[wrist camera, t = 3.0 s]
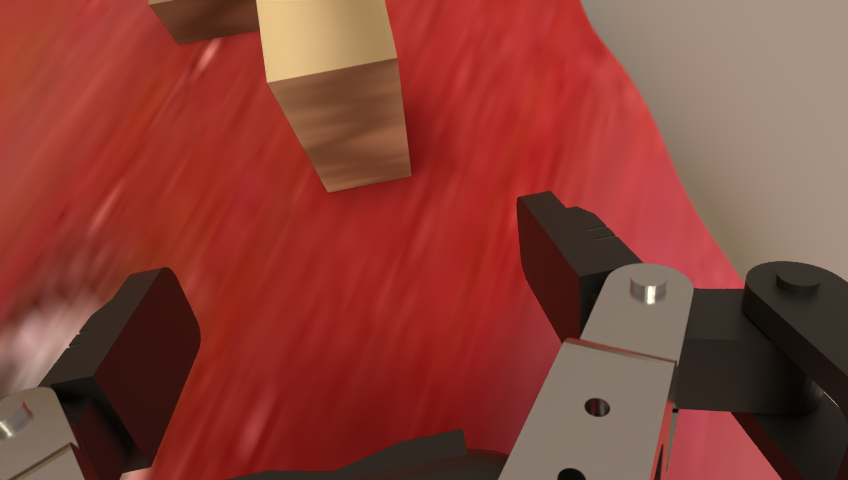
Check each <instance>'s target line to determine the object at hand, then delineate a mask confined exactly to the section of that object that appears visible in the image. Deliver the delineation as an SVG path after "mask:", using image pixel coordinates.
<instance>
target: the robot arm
mask: <svg viewBox="0 0 848 480" xmlns="http://www.w3.org/2000/svg"><path fill="white" fill-rule="evenodd" d="M517 219H518V231H519V243H520V255H521V262H522V267H523V271H524V274H525V277H526V280H527V282H528V284H529V285H530V287H531V289H532V291H533V293H534V294H535V296H536V298H537V300H538V301H539V303H540V305H541V307H542V309H543V310H544V312H545V314H546V316H547V318H548V319H549V321H550V323H551V325H552V326H553V328H554V330H555V332H556V334H557V335H558V337H559V339H560V341H561V342H562V346H561V348H560V350H559V353H558V355H557V357H556V359H555V361H554V363H553V365H552V367H551V369H550V372H549V374H548V376H547V378H546V380H545V382H544V384H543V386H542V388H541V390H540V393H539V395H538V397H537V399H536V401H535V403H534V405H533V407H532V409H531V412H530V414H529V416H528V418H527V420H526V422H525V424H524V426H523V428H522V430H521V433H520V435H519V437H518V439H517V441H516V443H515V445H514V447H513V449H512V451H511V454H510V455H508V454H504V453H500V452H496V451H489V450H482V449H467V447H466V443H465V439H464V435H463V431H462V429H459V430H454V431H450V432H445V433H440V434H436V435H431V436H426V437H422V438H417V439H413V440H408V441H403V442H399V443H397V444H395V445H392V446H390V447H388V448H386V449H383V450H381V451H379V452H377V453H374V454H372V455H370V456H368V457H365V458H363V459H361V460H359V461H356V462H354V463H352V464H350V465H347V466H345V467H343V468H341V469H338V470H335V471H272V470H268V471H264V472H259V473H254V474H250V475H245V476H240V477H236V478H231V479H226V480H667V478H668V472H669V467H670V462H671V456H672V451H673V446H674V440H675V435H676V430H677V424H678V419H679V414H680V409H693V410H711V411H728V412H731V413H732V415H733V416H734V417H735V419H736V420H737V421H738V422H739V424H740V425H741V426H742V428H743V429H744V430H745V432H746V433H747V434H748V436H749V437H750V438H751V439H752V441H753V442H754V443H755V445H756V446H757V447H758V449H759V450H760V451H761V453H762V454H763V455H764V456H765V458H766V459H767V460H768V462H769V463H770V464H771V466H772V467H773V468H774V470H775V471H776V472H777V473H778V475H779V476H780V477H781V479H782V480H848V282H846V281H845V280H843V279H842V278H841V277H839V276H837V275H836V274H834V273H832V272H830V271H828V270H825V269H823V268H820V267H817V266H813V265H809V264H804V263H799V262H788V261H776V262H768V263H764V264H760V265H758V266H755V267H754V268H752V269H751V270H750V271H749V272H748V273H747V275H746V281H745V287H744V289H698V288H693V285H692V283H691V281H690V280H689V279H688V278H687V277H686V276H685V275H684V274H682V273H681V272H679V271H677V270H675V269H672V268H670V267H666V266H663V265H657V264H649V263H643V262H642V261H641V260H640V259H639V258H638V257H637V256H636V255H635V254H634V253H633V252H632V251H631V250H630V249H629V248H628V247H627V246H626V245H625V244H624V243H623V242H622V241H621V240H620V239H619V238H618V237H615V234H614V233H613V232H612V231H611V230H610V229H609V228H606V225H605V224H604V223H603V222H602V221H601V220H600V219H599V218H598V217H597V216H596V215H595V214H593V213H591V212H589V211H586V210H584V209H582V208H579V207H577V206H576V207H571V208H567V209H566V207H565V206H564V205H563V204H562V203H561V202H560V201H559V200H558V199H557V197H556V196H555V195H554V194H553V193H552V192H551V191H546V192H541V193H536V194H531V195H526V196H521V197H518V198H517ZM79 333H80V334H79V335H76V336H75V338H74V339H73V340H72V342H71V343H70V344H69V348H67V349H66V350H65V351H64V352H63V354H62V355H61V356H60V358H59V359H58V360H57V362H56V363H55V364H54V365H53V367H52V368H51V369H50V371H49V372H48V373H47V375H46V376H45V377H44V379H43V380H42V381H41V383H40V384H39V385H38V387H36V388H31V389H26V390H23V391H20V392H18V393H15V394H13V395H10V396H8V397H6V398H4V399H2V400H0V480H120V477H121V475H122V473H126V472H130V471H135V470H140V469H144V468H149V467H151V466H152V463H153V461H154V458H155V456H156V454H157V451H158V449H159V446H160V444H161V441H162V439H163V436H164V434H165V431H166V429H167V426H168V424H169V422H170V419H171V417H172V414H173V412H174V409H175V407H176V404H177V402H178V399H179V397H180V395H181V392H182V390H183V387H184V385H185V382H186V380H187V377H188V375H189V372H190V370H191V368H192V365H193V363H194V360H195V358H196V355H197V353H198V350H199V347H200V341H201V337H200V329H199V325H198V322H197V320H196V318H195V315H194V313H193V311H192V309H191V307H190V305H189V303H188V301H187V299H186V296H185V294H184V292H183V290H182V288H181V286H180V284H179V282H178V279H177V277H176V275H175V274H174V272H173V271H172V270H171V269H170V268H167V267H164V268H159V269H154V270H149V271H144V272H139V273H134V274H131V275H130V276H129V277H128V278H127V280H126V281H125V282H124V284H123V285H122V286H121V288H120V289H119V290H118V292H117V293H116V295H115V296H114V297H113V299H112V300H110V301H109V302H108V303H107V304H105V305H104V306H103V307H102V308H100V309H99V310H98V311H97V312H95V313H94V314H93V315H91V317H90V318H89V319H88V321H87V322H86V323H85V325H84V326H83V327H82V329H81V330H80V331H79ZM824 392H825V393H826V394H828V395H829V396H830V397H831V398H832V399H833V400H834V401H835V403H836V404H837V405H838V406H839V407H840V408H839V407H838V406H837V405H836V404H835V403H834V402H833V401H832V400H831V399H830V398H829V397H828V396H827V395H826V394H825V393H824Z"/></svg>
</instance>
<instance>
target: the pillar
mask: <svg viewBox="0 0 848 480" xmlns="http://www.w3.org/2000/svg"><path fill="white" fill-rule="evenodd" d="M256 3H257V10H258V18H259V25H260V32H261V40H262V47H263V55H264V62H265V70H266V77H267V83H268V85H269V87H270V89H271V90H272V92H273V94H274V96H275V98H276V99H277V101H278V103H279V105H280V107H281V108H282V110H283V112H284V114H285V116H286V118H287V119H288V121H289V123H290V125H291V127H292V128H293V130H294V132H295V134H296V136H297V137H298V139H299V141H300V143H301V145H302V147H303V148H304V150H305V152H306V154H307V156H308V157H309V159H310V161H311V163H312V165H313V166H314V168H315V170H316V172H317V174H318V175H319V177H320V179H321V181H322V183H323V185H324V186H325V188H326V190H327V192H328V193H329V192H334V191H339V190H344V189H349V188H354V187H359V186H364V185H369V184H374V183H379V182H384V181H389V180H394V179H399V178H404V177H409V176H412V174H411V166H410V158H409V149H408V141H407V133H406V125H405V117H404V109H403V100H402V92H401V84H400V76H399V68H398V60H397V54H396V50H395V45H394V41H393V36H392V32H391V27H390V23H389V18H388V14H387V9H386V5H385V0H256Z"/></svg>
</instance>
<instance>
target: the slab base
mask: <svg viewBox="0 0 848 480" xmlns="http://www.w3.org/2000/svg"><path fill="white" fill-rule="evenodd" d="M149 5H150V7H151V8H152V9H153V11H154V12H155V14H156V15H157V16H158V18H159V19H160V20H161V22H162V23H163V24H164V26H165V27H166V28H167V30H168V31H169V32H170V34H171V35H172V36H173V38H174V39H175V40H176V42H177V43H178V44H185V43H190V42H196V41H201V40H207V39H212V38H218V37H223V36H229V35H234V34H240V33H245V32H251V31H256V30H260V25H259V18H258V10H257V3H256V0H149Z"/></svg>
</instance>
